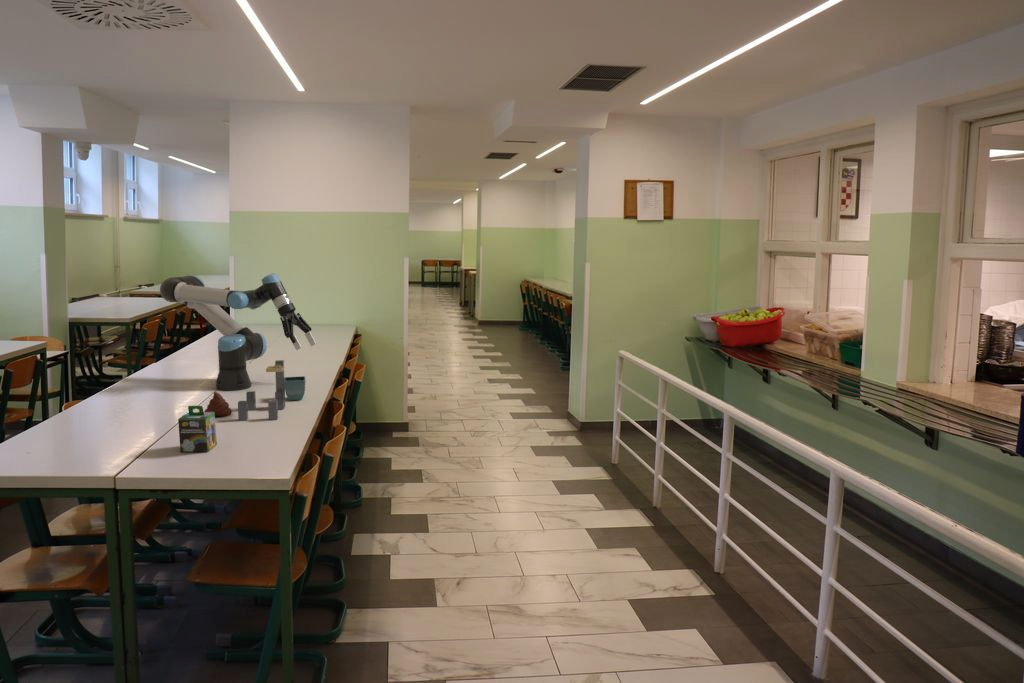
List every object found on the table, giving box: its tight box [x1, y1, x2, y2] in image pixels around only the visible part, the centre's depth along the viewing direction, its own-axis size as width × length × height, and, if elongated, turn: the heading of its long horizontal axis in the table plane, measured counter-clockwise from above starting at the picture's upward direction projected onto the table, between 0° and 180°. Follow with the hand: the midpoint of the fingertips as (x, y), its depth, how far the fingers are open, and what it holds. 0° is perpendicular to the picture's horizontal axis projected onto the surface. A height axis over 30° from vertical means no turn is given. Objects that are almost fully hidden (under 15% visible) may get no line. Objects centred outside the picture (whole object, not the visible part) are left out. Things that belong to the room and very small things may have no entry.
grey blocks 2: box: [267, 390, 285, 421], centre depth 313 cm, size 3×20×7 cm, turn 8°
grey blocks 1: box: [237, 391, 257, 422], centre depth 312 cm, size 3×20×7 cm, turn 8°
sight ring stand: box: [265, 359, 286, 409], centre depth 317 cm, size 6×16×19 cm, turn 8°
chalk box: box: [177, 405, 218, 453], centre depth 264 cm, size 9×9×15 cm
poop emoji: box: [204, 391, 233, 418], centre depth 310 cm, size 10×8×9 cm
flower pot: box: [284, 375, 307, 401], centre depth 339 cm, size 9×9×9 cm
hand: (306, 347), depth 365 cm, fingers open, 13 cm apart
